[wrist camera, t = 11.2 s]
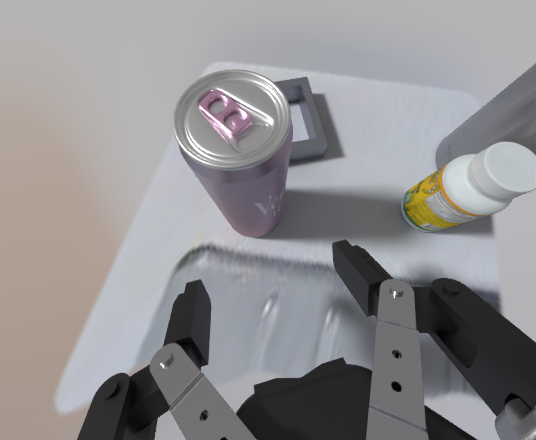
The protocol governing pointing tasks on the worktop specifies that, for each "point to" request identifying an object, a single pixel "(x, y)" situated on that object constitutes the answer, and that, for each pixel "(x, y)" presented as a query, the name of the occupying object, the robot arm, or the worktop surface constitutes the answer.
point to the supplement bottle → (470, 187)
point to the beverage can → (238, 145)
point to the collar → (305, 120)
